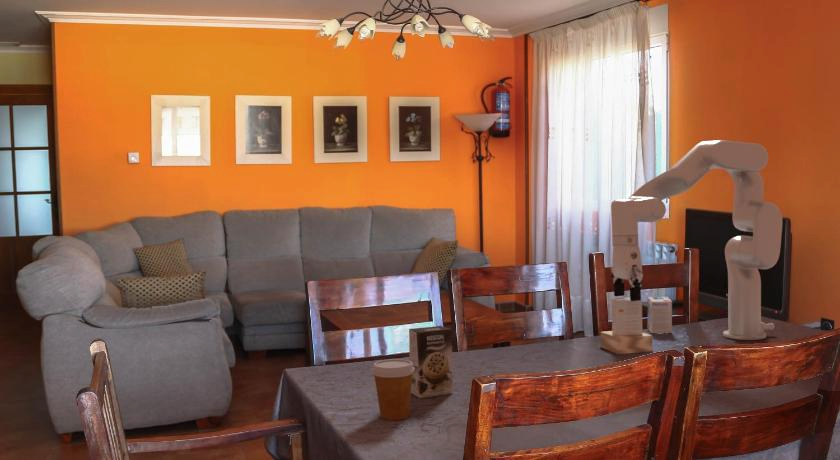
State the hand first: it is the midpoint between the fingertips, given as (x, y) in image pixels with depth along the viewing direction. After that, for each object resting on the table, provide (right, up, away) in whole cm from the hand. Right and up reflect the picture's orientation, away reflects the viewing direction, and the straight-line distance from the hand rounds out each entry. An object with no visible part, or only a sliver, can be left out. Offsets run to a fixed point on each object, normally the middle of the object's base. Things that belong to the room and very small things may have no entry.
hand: (627, 298), depth 251 cm
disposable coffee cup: (-67, -22, -62) cm, 94 cm away
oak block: (0, -16, +1) cm, 16 cm away
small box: (0, -11, 0) cm, 11 cm away
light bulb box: (+17, -13, +26) cm, 34 cm away
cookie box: (-59, -20, -43) cm, 76 cm away
